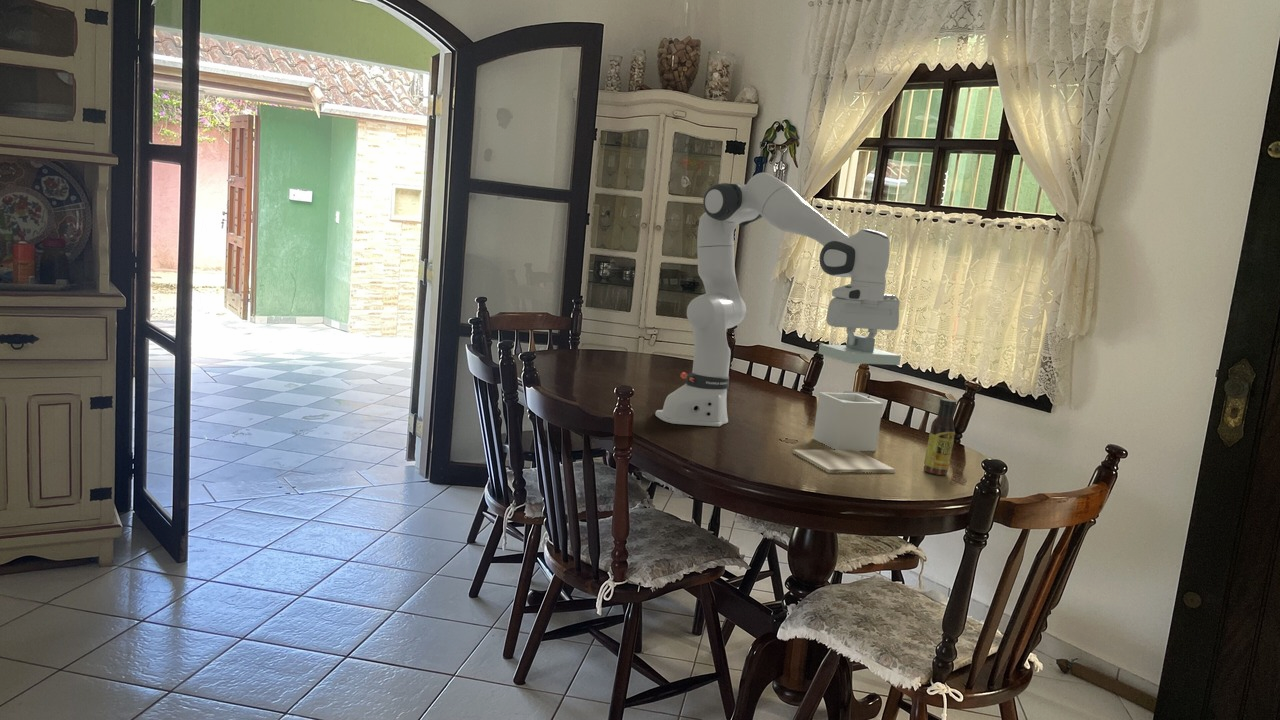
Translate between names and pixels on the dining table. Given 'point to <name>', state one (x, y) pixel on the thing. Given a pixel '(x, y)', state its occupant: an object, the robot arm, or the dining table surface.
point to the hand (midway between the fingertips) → (859, 345)
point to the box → (847, 421)
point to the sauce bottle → (941, 439)
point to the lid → (860, 352)
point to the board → (843, 461)
